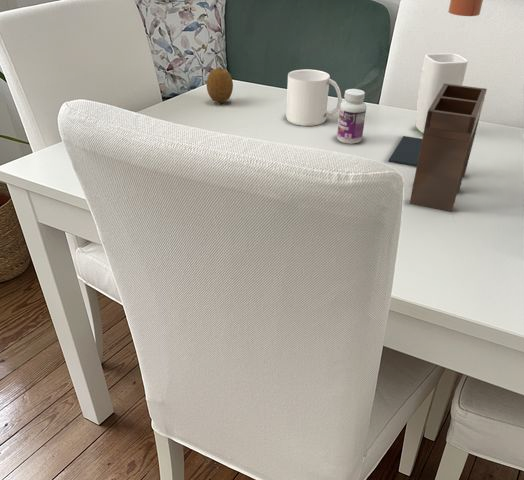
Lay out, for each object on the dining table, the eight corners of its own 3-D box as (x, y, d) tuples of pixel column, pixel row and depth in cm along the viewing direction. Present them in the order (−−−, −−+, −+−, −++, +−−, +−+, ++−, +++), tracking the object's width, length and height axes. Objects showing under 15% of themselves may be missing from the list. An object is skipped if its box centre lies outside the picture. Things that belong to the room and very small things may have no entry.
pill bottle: (331, 139, 120) (335, 91, 114) (347, 133, 123) (352, 85, 117) (351, 146, 117) (357, 97, 111) (367, 140, 120) (373, 91, 114)
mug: (280, 122, 127) (281, 78, 121) (293, 110, 134) (295, 67, 127) (331, 130, 124) (336, 85, 118) (343, 117, 130) (347, 74, 124)
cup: (408, 126, 126) (422, 53, 117) (439, 125, 127) (455, 52, 118) (421, 138, 121) (436, 63, 111) (453, 137, 122) (471, 61, 112)
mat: (439, 143, 119) (439, 141, 119) (427, 168, 109) (427, 166, 109) (403, 137, 121) (403, 135, 121) (388, 161, 111) (388, 159, 111)
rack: (464, 175, 107) (486, 88, 97) (451, 211, 96) (475, 117, 86) (426, 169, 109) (444, 83, 99) (409, 203, 98) (427, 110, 88)
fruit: (207, 99, 139) (205, 63, 134) (232, 98, 139) (231, 63, 134) (207, 107, 134) (206, 71, 129) (234, 107, 135) (233, 70, 130)
